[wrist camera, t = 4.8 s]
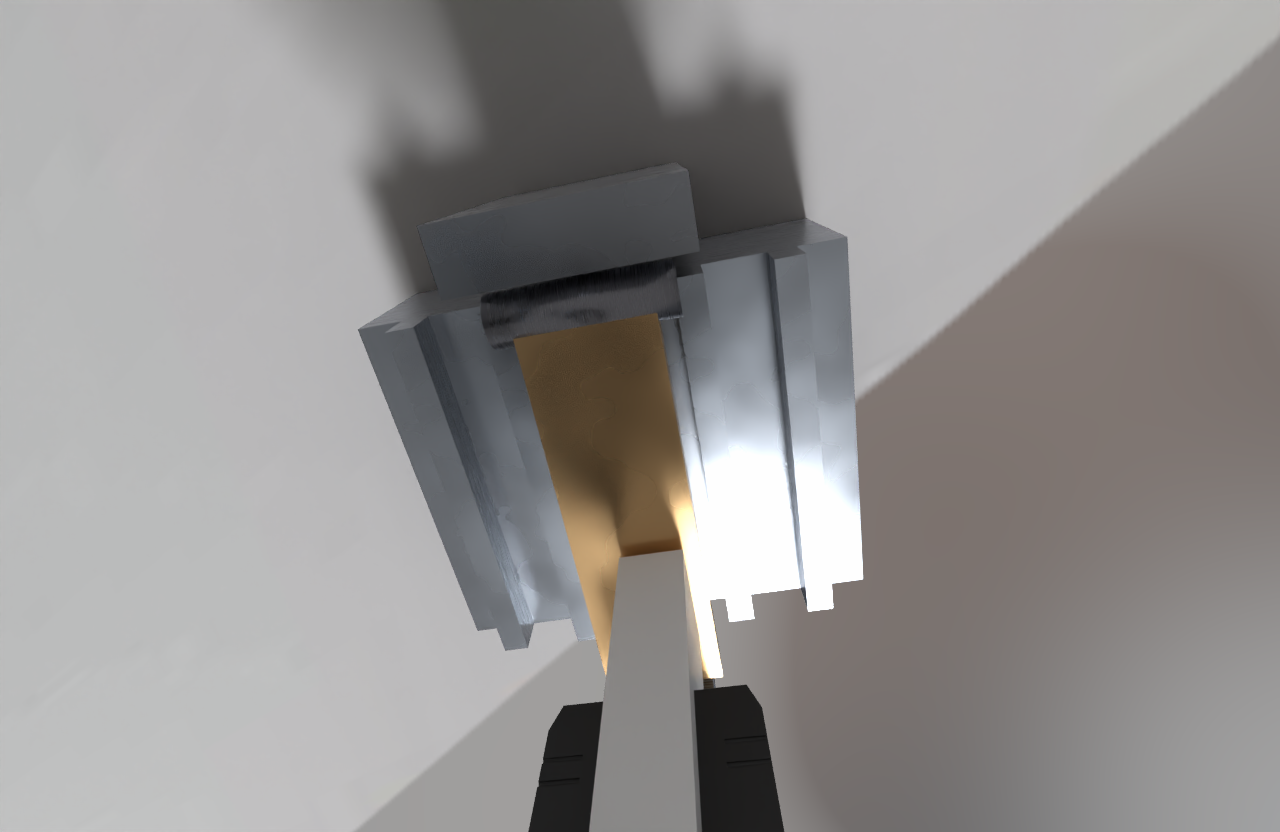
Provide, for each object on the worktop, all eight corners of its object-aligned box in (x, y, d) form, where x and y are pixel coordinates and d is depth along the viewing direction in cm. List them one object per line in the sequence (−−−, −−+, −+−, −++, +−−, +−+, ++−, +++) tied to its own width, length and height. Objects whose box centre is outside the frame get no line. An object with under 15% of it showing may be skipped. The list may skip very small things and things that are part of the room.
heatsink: (517, 583, 23) (415, 909, 13) (391, 220, 17) (52, 313, 8) (829, 539, 22) (974, 859, 12) (800, 136, 16) (1023, 116, 6)
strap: (595, 661, 17) (591, 695, 16) (490, 289, 13) (475, 299, 12) (736, 643, 16) (742, 677, 15) (672, 254, 12) (674, 261, 11)
